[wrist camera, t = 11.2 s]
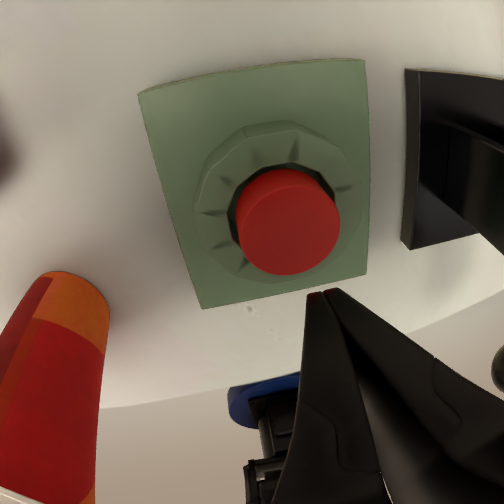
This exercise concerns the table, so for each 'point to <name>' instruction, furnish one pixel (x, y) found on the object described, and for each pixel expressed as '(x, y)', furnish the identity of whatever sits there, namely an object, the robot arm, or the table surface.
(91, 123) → the table surface
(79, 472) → the paper cup
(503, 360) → the lever
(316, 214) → the button
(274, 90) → the control block
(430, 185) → the bracket
